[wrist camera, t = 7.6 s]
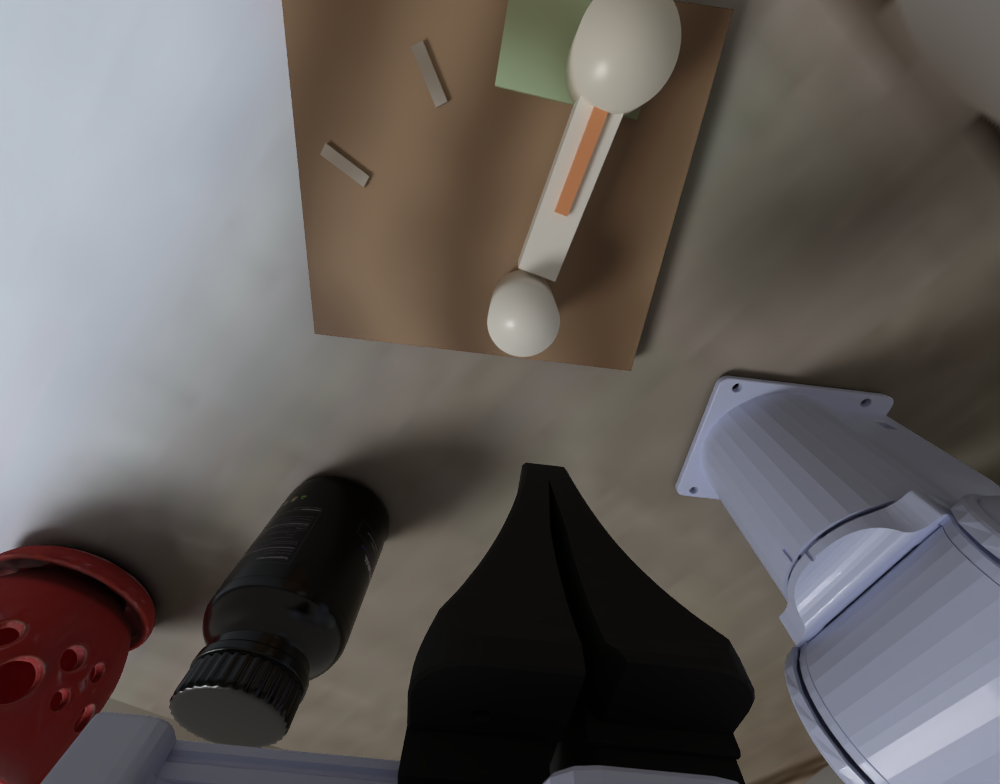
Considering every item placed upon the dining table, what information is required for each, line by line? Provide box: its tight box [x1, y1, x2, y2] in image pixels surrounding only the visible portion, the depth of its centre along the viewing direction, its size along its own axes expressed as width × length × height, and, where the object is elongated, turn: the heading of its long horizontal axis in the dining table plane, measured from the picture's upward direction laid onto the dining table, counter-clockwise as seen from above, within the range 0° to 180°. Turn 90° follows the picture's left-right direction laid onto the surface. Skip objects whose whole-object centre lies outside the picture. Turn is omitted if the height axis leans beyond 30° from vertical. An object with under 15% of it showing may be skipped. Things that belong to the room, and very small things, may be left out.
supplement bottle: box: [169, 476, 389, 748], centre depth 22 cm, size 7×7×12 cm
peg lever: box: [487, 0, 681, 357], centre depth 15 cm, size 12×3×3 cm, turn 161°
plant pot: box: [0, 545, 155, 784], centre depth 26 cm, size 13×13×12 cm
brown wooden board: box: [282, 0, 734, 371], centre depth 18 cm, size 16×14×1 cm
